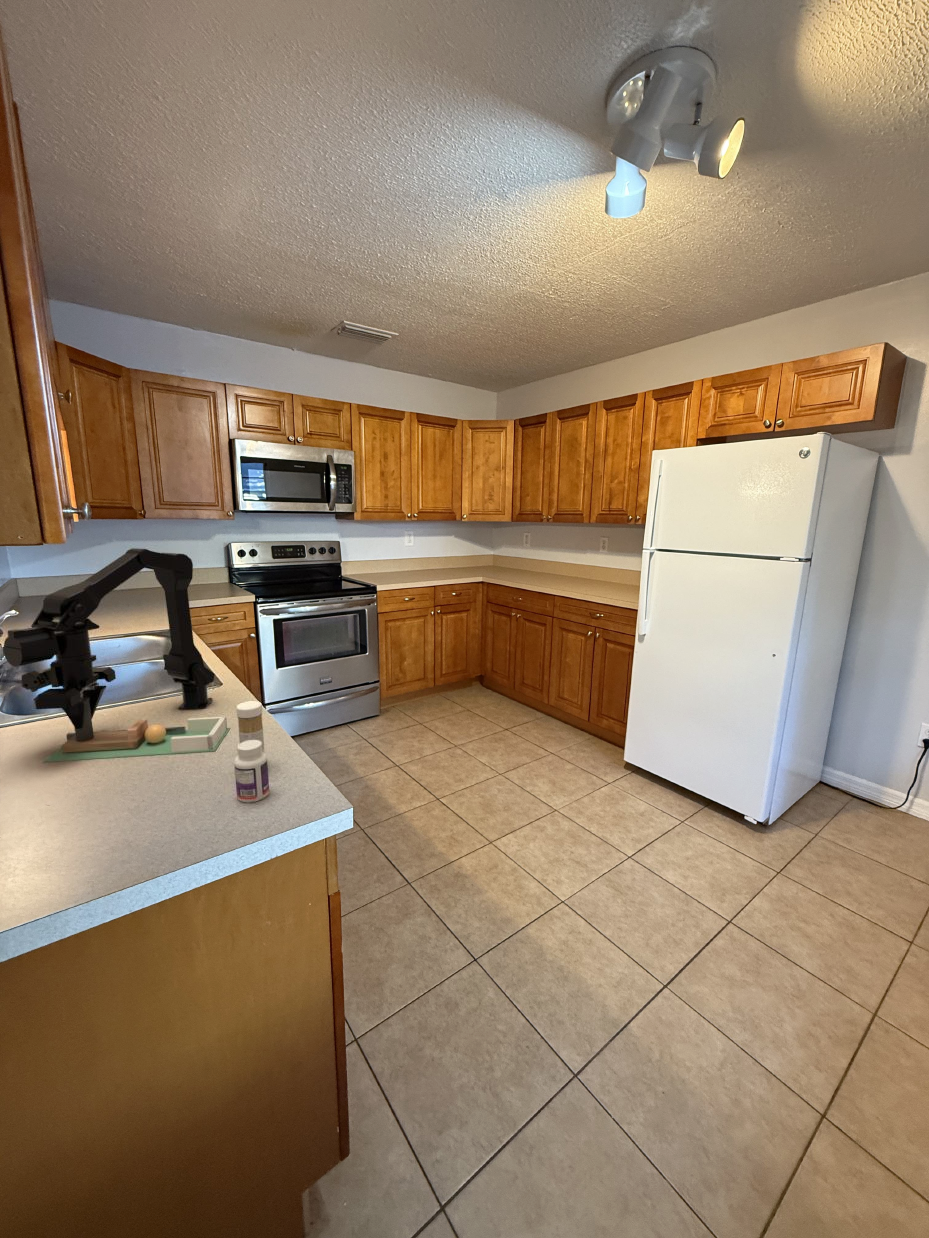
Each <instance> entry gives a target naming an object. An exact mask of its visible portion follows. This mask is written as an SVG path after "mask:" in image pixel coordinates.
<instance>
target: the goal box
mask: <svg viewBox="0 0 929 1238" xmlns="http://www.w3.org/2000/svg"><path fill="white" fill-rule="evenodd" d="M186 721H187V722H186V723H187V730H188V732H205V731H211V732H210V733H209V735H196V736H178V737H172V738H171V747H172V752H184V751H200V750H213V749H214V748H215V746H216V745H217V743H218V742H219V740H220V739H221V737H222V736H223V734H224V732H225V731H226V729H227V728H228V725H227V724H228V723H227V722H228V721H227V716H209V717H189V718H187V720H186Z"/></svg>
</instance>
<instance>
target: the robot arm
mask: <svg viewBox="0 0 929 1238" xmlns="http://www.w3.org/2000/svg"><path fill="white" fill-rule="evenodd" d="M193 567H194V563H193V560H192V558H191V557H189V556H188V555H187V554H184V553H176V552H175V553H173V552H158V551H152V550H149V549H147V548H136V547H135V548H130V549H128V550H127V551H126V552H125V553H124V554H123V555H121V556H119V557H118V558H117V559H115V560H113V561H112V562H110V563H109V564H107V565H106V566H104V567H103V568H102V569H100V570H99V571H97V572H95V573H94V574H92V575H91V576H90V577H88V578H86V579H85V580H83V581H81V582H79V583H77V584H72V585H68V586H66V587H63V588H60V589H59V590H56V591H54V592H52V593H49V594H48V595H47V596H46V597H44V599H43V601H42V603H43V604H42V609H41V610H39V611H40V612H39V613H38V614H37V616H36V617H35V619H34V621H33V622H32V624H31V627H27V628H20V629H18V628H16V629H10V630H8V631H7V637H6V638H5V640H4V642H3V646H2V653H3V655H4V658H5V660H6V661H7V663H8V664H9V665H10V666H12V667H15V668H16V667H20V666H21V667H22V666H26V665H31V664H34V663H35V664H36V663H39V662H44V661H48V660H49V661H50V660H52V659H53V658H54V657H55V660H53V661H51V662H50V664H49V668H46V669H43V670H40V671H36V670H31V671H29V672H26V673H23V674H22V675H21V680H20V681H21V687H22V688H23V689H24V690H25V689H26V690H28V691H29V690H30V691H31V692H30V693H35V692H37V691H38V690H40V689H43V688H46V687H49V686H51V688H48V689H46V690H44V691H43V692H40V693H39V694H37V695H36V697H34V698H33V703H34V709H35V710H52V709H53V710H54V709H55V710H56V709H62V710H63V712H64V713H65V714H66V716H67V717H68V719H69V721H70V722H71V725H73V727H75V728H76V729H81V728H82V727H83V724H84V720H85V716H86V711H87V707H88V703H89V704H90V711H91V718H92V719H93V718H94V715H95V713H96V710H97V708H98V705H99V703H100V701H101V698H102V696H103V694H104V692H105V689H107V686H106V685H100V683H99V682H98V680H105V682H106V683H111V682H113V681H114V680H116V679H117V675H116V671H115V669H114V668H112V667H111V666H104V667H103V666H100V667H98V666H97V667H94V665H93V662H95V661H97V660H98V659H97V654H92V650H91V642H90V635H89V631H91V630H92V631H93V630H98V629H100V625H99V624H97V623H95V622H93V621H92V620H91V618H89V617H90V616H91V615H92V614H93V613H94V612H95V611H96V610H97V609H98V607H99V606H100V603H101V601H102V600H103V599H104V598H105V597H106V596H107V595H109V594H110V593H111V592H112V591H114V590H116V588H118V587H120V586H121V585H122V584H125V582H126V581H128V580H129V579H130V578H132V577H134V576H135V575H137V574H138V573H139V572H141V571H142V570H143V569H148V570H153V572H154V576H155V579H156V581H157V582H158V583H159V585H160V586H161V587H162V589H163V591H164V596H165V597H164V598H165V605H166V612H167V620H168V627H169V634H170V635H169V636H170V642H171V643H170V644H171V647H170V650H169V651H168V653H166V654H165V653H164V654H163V655H162V659H163V661H164V668H163V670H165V671H166V673H167V675H168V676H170V677H171V678H172V680H173V682H174V683H178V684H181V692H182V693H181V694H182V703H181V704H180V705H179V706H178V710H191V709H195V710H196V709H206V708H207V707H208V706H209V705H210V703H211V702H212V701H213V697H209V696H208V685H210V684H211V683H213V682H214V679H215V673H214V672H212V671H211V670H210V669H209V668H207V667H206V666H205V661H204V660H203V656H202V653H201V652H200V651H199V649H198V648H197V647H196V645H195V642H194V641H195V640H194V633H193V627H192V626H193V624H192V618H191V608H190V597H189V592H188V590H189V587H190V584H191V583H192V581H193V576H194V575H193V572H194V570H193V569H194V568H193ZM60 687H62V688H60ZM75 728H74V729H75Z"/></svg>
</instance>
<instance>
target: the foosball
mask: <svg viewBox="0 0 929 1238" xmlns="http://www.w3.org/2000/svg"><path fill="white" fill-rule="evenodd" d="M165 728H166V727H165V726H163V725H162V724H152V725H149V726H148V728H147V729H146V731H145V739H146V740H147V741H148V742H150V743H159V742H161V741H162V740H163V739H164V738H165V736H166V730H165Z"/></svg>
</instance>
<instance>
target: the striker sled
mask: <svg viewBox="0 0 929 1238" xmlns="http://www.w3.org/2000/svg"><path fill="white" fill-rule="evenodd" d="M92 719H93V718H91V711H90V704H89V703H88V707H87V711H86V716H85V720H84V724H83V727H82V728H81V729H76V728H75V727H74V726H73V727H74V733H75V736H73V737H72V738H71V739H69V740H68V741H67V740H66V742H64V743H62V744H61V745H60V748H61V750H62V753H64V752H81V751H97V750H113V749H130V748H138V747H139V746H140V745H141V744H142V743H143V742H144V741H145V740H146V739H145V731H146V729H147V728H148V727H149V725H148V724H149V723H148V722H149V721H148V719H147V718H143V719H139V720H137V721H136V722H135V723H134V724H133V725H132V726H131V727H129V729H126V730H127V731H116V732H98V733H93V732H94V728H93V720H92Z"/></svg>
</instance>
